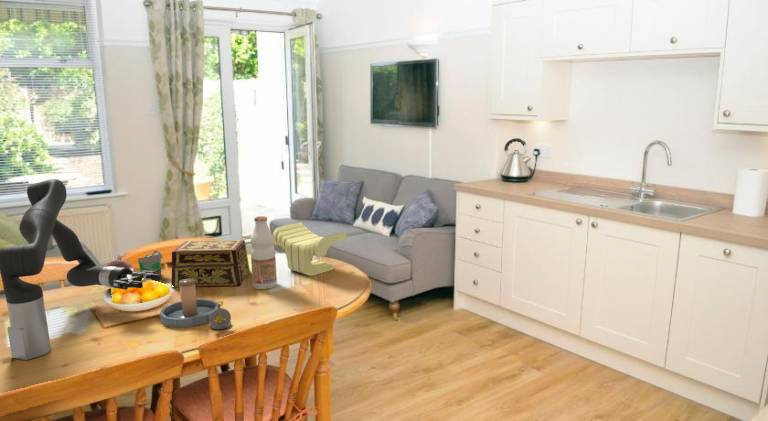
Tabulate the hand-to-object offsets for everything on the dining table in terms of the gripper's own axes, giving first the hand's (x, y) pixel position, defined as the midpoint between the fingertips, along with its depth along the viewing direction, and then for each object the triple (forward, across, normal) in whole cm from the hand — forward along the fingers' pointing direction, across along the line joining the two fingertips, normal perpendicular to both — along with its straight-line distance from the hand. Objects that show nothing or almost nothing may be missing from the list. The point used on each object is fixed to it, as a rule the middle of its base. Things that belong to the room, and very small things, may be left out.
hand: (151, 281), depth 198 cm
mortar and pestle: (-35, +18, +12) cm, 41 cm away
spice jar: (+14, +2, +11) cm, 18 cm away
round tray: (+14, +2, +12) cm, 18 cm away
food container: (-31, +33, +11) cm, 46 cm away
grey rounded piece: (+30, -2, +12) cm, 32 cm away
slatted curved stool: (+27, +63, +12) cm, 69 cm away
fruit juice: (+20, +39, +12) cm, 45 cm away
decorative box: (-5, +38, +12) cm, 40 cm away
